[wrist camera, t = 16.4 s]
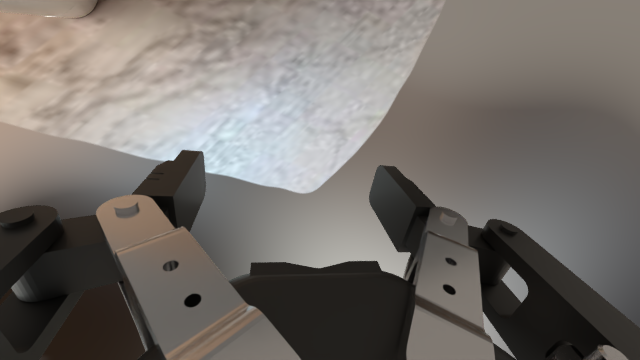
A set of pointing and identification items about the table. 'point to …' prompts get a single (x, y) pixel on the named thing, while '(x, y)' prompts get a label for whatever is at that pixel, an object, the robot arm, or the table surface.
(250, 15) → the table surface
